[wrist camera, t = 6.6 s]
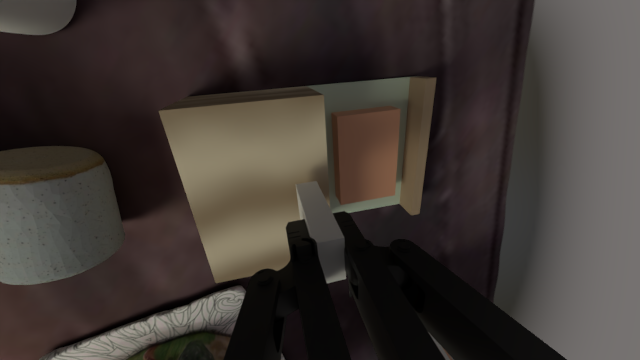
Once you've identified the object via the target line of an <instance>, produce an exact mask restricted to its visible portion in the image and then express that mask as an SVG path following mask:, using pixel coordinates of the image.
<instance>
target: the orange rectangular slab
mask: <svg viewBox="0 0 640 360" xmlns="http://www.w3.org/2000/svg"><path fill="white" fill-rule="evenodd" d="M400 111H401V109H399V108H396V107H393V106H384V107H375V108H367V109H358V110H350V111H341V112H333V113H331V116H332V135H333V155H334V174H335V193H336V197H337V199H338V201H339V203H340V204H341V205H344V204H350V203H355V202H361V201H366V200H372V199H377V198H383V197H388V196H394V195H395V188H396V173H397V157H398V142H399V126H400Z"/></svg>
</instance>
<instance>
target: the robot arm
mask: <svg viewBox="0 0 640 360" xmlns="http://www.w3.org/2000/svg"><path fill="white" fill-rule="evenodd" d="M296 192H297V199H298V207H299V215H300V219H301V220H297V221H292V222H288V224H287V226H286V233H287V239H288V245H289V251H290V261H289V263H288V264H287V265H286V266H285V267H284V268H282V269H280V270H278V271H275V270H274V269H269V268H267V269H262V270H260V271H258V272H256V273H255V274H254V275H253V276H252V277H251V279H250V281H249V284H248V287H247V290H246V293H245V296H244V299H243V302H242V305H241V308H240V311H239V314H238V317H237V320H236V323H235V326H234V329H233V332H232V335H231V338H230V341H229V344H228V347H227V350H226V353H225V356H224V359H223V360H281V354H282V347H283V340H284V333H285V327H286V320H287V315H289V314H290V313H292V312H294V311H295V310H297V309H299V310H300V316H301V322H302V328H303V334H304V340H305V345H306V351H307V357H308V360H351V358H350V355H349V352H348V349H347V345H346V342H345V339H344V336H343V333H342V330H341V327H340V323H339V320H338V317H337V314H336V311H335V308H334V304H333V301H332V298H331V295H330V292H329V289H328V285H327V283H331V282H335V281H339V280H344V279H346V273H347V276H348V278H349V296H350V297H352V295H353V297H354V300H355V302H356V305H357V307H358V310H359V312H360V315H361V317H362V320H363V322H364V325H365V327H366V330H367V332H368V334H369V337H370V339H371V342H372V344H373V347H374V349H375V352H376V354H377V357H378V359H379V360H445V358H444V357H443V355H442V353H441V352H440V350H439V349H438V347H437V345H436V344H435V342H434V341H433V339H432V337H431V336H430V334H431V335H432V336H433V338H434V339H435V340H436V341H437V342H438V343H439V344H440V345H441V346H442V347H443V348H444V349H445V351H446V352H447V353H448V354H449V355H450V356H451V357H452V358H453V359H454V360H567V359H565V358H564V357H563V356H561V355H560V354H559V353H558V352H556V351H555V350H554V349H552V348H551V347H549V346H548V345H547V344H546V343H544V342H543V341H542V340H540V339H539V338H538V337H536V336H535V335H534V334H533V333H531V332H530V331H529V330H527V329H526V328H525V327H523V326H522V325H521V324H519V323H518V322H517V321H516V320H514V319H513V318H512V317H510V316H509V315H508V314H506V313H505V312H504V311H502V310H501V309H500V308H498V307H497V306H496V305H495V304H493V303H492V302H491V301H489V300H488V299H487V298H485V297H484V296H483V295H481V294H480V293H479V292H477V291H476V290H475V289H474V288H472V287H471V286H470V285H468V284H467V283H466V282H464V281H463V280H462V279H460V278H459V277H458V276H456V275H455V274H454V273H453V272H451V271H450V270H449V269H447V268H446V267H445V266H443V265H442V264H441V263H439V262H438V261H437V260H435V259H434V258H433V257H432V256H430V255H429V254H428V253H426V252H425V251H424V250H422V249H421V248H420V247H418V246H417V245H416V244H414V243H413V242H411V241H409V240H405V239H398V240H394V241H393V242H391V244H390V247H378V246H374V245H373V244H372V243H371V242H370V241H369V240H367V239H364V237H363V235H362V234H361V232H360V230H359V229H358V227H357V225H356V224H355V222H354V221H353V219H352V217H351V215H350V214H348V213H347V212H345V211H342V212H336V213H332V211H331V209H330V207H329V205H328V203H327V201H326V199H325V197H324V195H323V193H322V191H321V189H320V187H319V185H318V183H317V181H313V182H307V183H301V184H296ZM428 332H429V333H430V334H429V333H428Z"/></svg>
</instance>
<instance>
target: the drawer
mask: <svg viewBox="0 0 640 360" xmlns="http://www.w3.org/2000/svg"><path fill="white" fill-rule="evenodd" d="M435 86H436V78H434V77H423V76H412V77H401V78H390V79H379V80H367V81H356V82H345V83H334V84H323V85H311V86H307V87H309V88H311V89H313V90H315V91H317V92H319V93H321V94H323V95H324V106H325V124H326V143H327V161H328V179H329V197H330V209H331V211H332V213H336V212H342V211H345V212H347V213H350V212H356V211H362V210H367V209H373V208H378V207H384V206H389V205H395V204H400V205H401V206H402V207H403V208H404V209H405V210H406V211H407V212H408V213H409V214H410V215H416V214H420V206H421V198H422V190H423V182H424V174H425V166H426V158H427V150H428V142H429V134H430V126H431V118H432V110H433V102H434V94H435ZM384 106H393V107H396V108H399V109H401V111H400V126H399V142H398V157H397V173H396V188H395V195H394V196H388V197H383V198H377V199H372V200H366V201H361V202H355V203H350V204H344V205H341V204H340V203H339V201H338V199H337V197H336V193H335V174H334V155H333V135H332V116H331V113H333V112H341V111H350V110H358V109H367V108H375V107H384Z"/></svg>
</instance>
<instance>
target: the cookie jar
mask: <svg viewBox="0 0 640 360" xmlns="http://www.w3.org/2000/svg"><path fill="white" fill-rule="evenodd" d="M245 293H246V291H245V289H244V288H243V287H242V286H241V285H237V286H233V287H230V288H227V289H224V290H220V291H217V292H214V293H212V294H209V295H207V296H205V297H202V298H200V299H197V300H195V301H193V302H191V303H189V304H188V305H185V306H181V307H176V308H174V309H171V310H166V311H162V312H159V313H155V314H153V315H150V316H148V317H145V318H142V319H139V320H137V321H134V322H131V323H128V324H126V325H123V326H120V327H117V328H115V329H112V330H109V331H107V332H104V333H101V334H98V335H96V336H93V337H90V338H88V339H85V340H82V341H80V342H77V343H75V344H72V345H70V346H66V347H62V348H58V349H56V350H54V351H52V352H50V353H48V354H46V355H44V356H43V357H42V358H40V359H39V360H223V359H224V356H225V353H226V350H227V347H228V344H229V341H230V338H231V335H232V332H233V329H234V326H235V323H236V320H237V317H238V314H239V311H240V308H241V305H242V302H243V299H244V296H245ZM281 360H285V358H284V356H283V354H281Z"/></svg>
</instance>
